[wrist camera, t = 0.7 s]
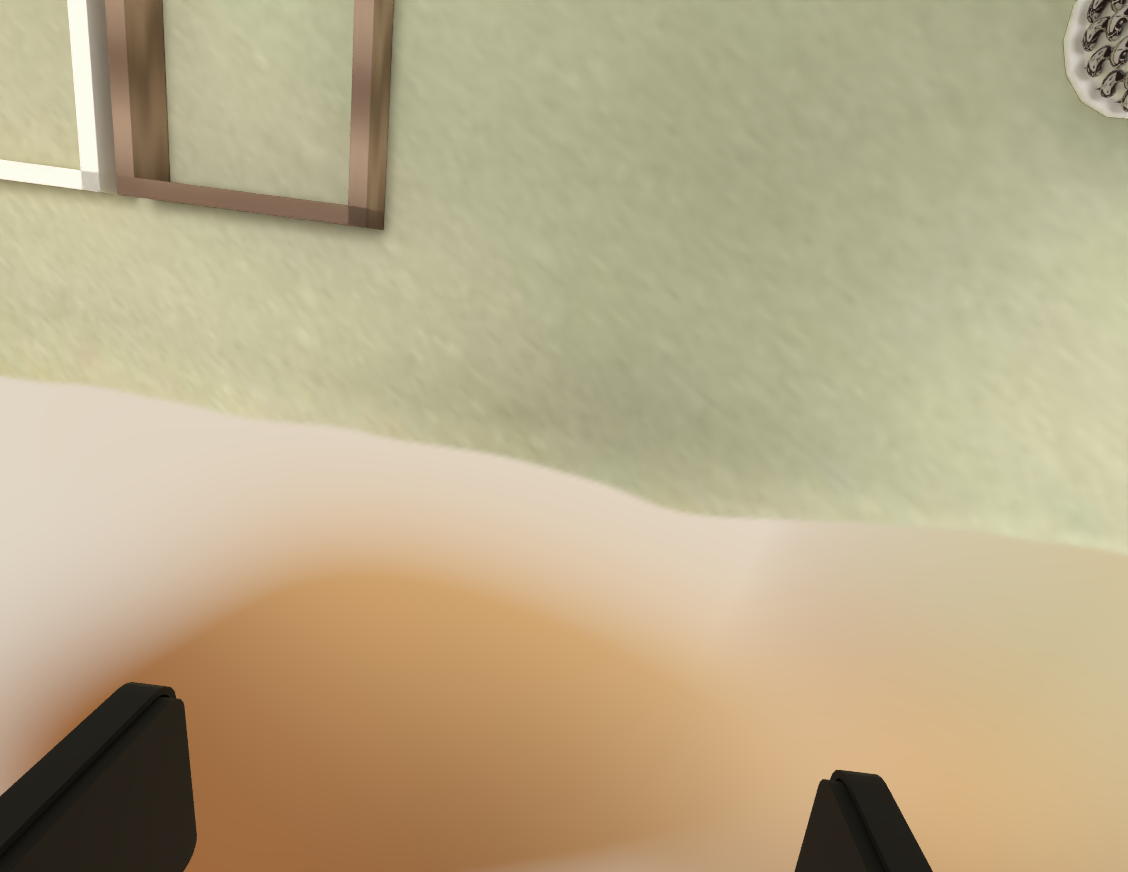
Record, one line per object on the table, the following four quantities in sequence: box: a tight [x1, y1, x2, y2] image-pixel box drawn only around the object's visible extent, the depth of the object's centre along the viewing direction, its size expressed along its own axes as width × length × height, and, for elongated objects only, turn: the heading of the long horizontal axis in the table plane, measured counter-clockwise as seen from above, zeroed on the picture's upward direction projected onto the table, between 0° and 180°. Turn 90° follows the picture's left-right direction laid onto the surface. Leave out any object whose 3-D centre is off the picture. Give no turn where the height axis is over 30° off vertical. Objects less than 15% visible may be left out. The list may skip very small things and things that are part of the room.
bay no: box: [105, 0, 394, 230], centre depth 34 cm, size 14×14×3 cm
